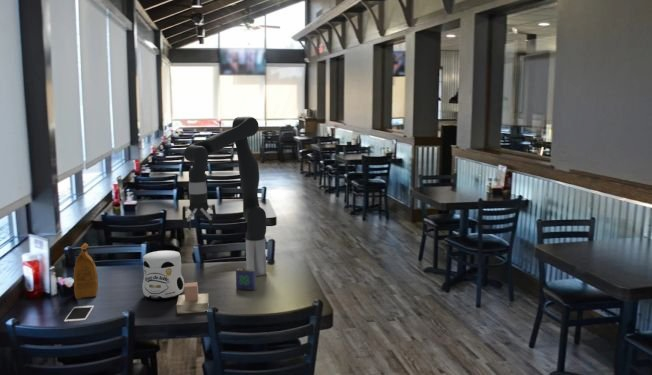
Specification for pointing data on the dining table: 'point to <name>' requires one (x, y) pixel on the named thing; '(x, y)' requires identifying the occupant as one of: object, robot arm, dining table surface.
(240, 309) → the dining table surface
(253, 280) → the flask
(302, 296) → the dining table surface
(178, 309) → the maple base
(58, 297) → the dining table surface
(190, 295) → the terracotta block
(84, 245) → the coffee package
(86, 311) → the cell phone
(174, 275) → the milk container
